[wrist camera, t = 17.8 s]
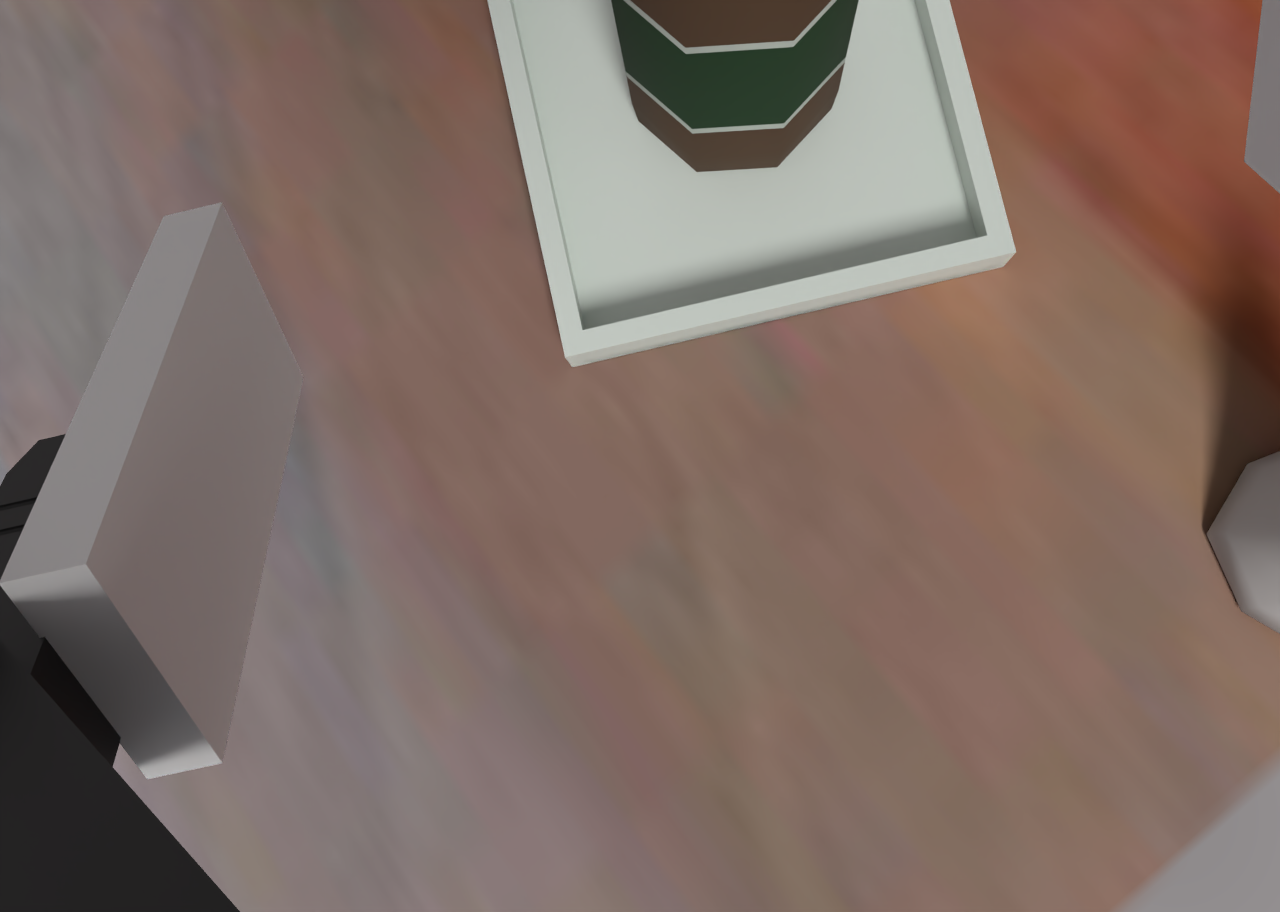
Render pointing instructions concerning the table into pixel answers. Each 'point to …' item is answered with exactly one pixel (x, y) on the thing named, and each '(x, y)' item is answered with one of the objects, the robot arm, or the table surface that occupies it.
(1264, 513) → the flask
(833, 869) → the table surface
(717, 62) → the beer bottle
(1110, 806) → the table surface
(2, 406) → the table surface
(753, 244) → the tray
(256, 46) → the table surface
